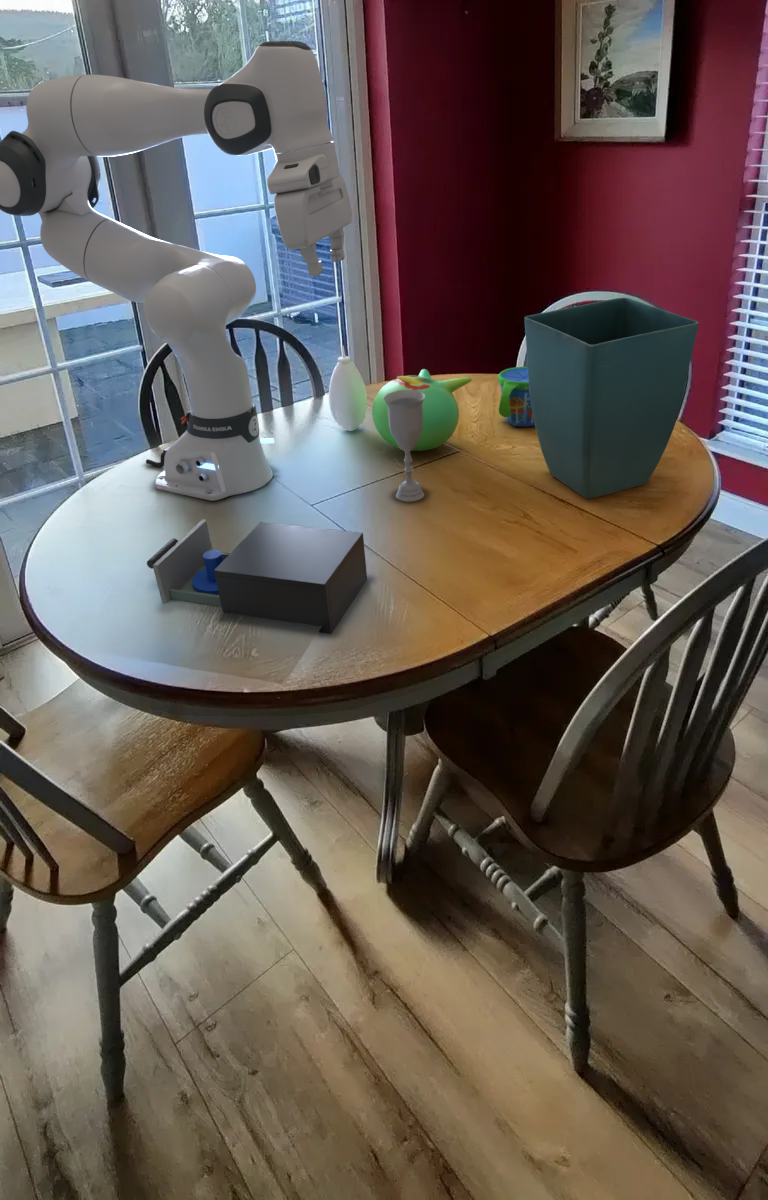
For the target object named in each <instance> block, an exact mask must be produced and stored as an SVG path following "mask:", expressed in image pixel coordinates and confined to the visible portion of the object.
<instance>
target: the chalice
mask: <svg viewBox="0 0 768 1200" xmlns="http://www.w3.org/2000/svg"><path fill="white" fill-rule="evenodd" d="M424 398H425V395H424V394H423V393H422V392H420V391H416V390H400V391H395V392H392V393H390V394H388V395H386V396H385V397H384V400H385V402H386V404H387V405H388V420H389V428H390V431H391V433H392V435H393V438H394V439H395V441H396V443H397V445H398V446H399V449H400V450H401V451H403V452H404V454H405V455H404V459H403V462H404V464H405V468H404V469H403V472H404V473H405V475H406V478H405V479H404V481H402V482H401V483H400V484H399V486H398V488H397V492H396V494H395V497H396V499H397V500H399V501H401V502H415V501H419V500H421V499H422V498H424V497H425V492H424V491H423V489H422V487H421V484H420V483H419V482H418V481H417V480H415V479H413V477H412V475H413V474H412V473H413V472H414V468H413V466H412V462H413V458H412V455H411V450H412V449H414V448H415V446H416V444H417V442H418V439H419V437H420V434H421V430H422V427H423V410H422V402H423V400H424Z"/></svg>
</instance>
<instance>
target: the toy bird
mask: <svg viewBox="0 0 768 1200" xmlns="http://www.w3.org/2000/svg"><path fill="white" fill-rule="evenodd" d="M471 381H472V378H471V377H468V376H463V377H456V378H449V379H443V380H437V379H434V378H432V377H431V373H430V371H429V370H428V369H425V368H422V369H421V370H420V372H419V374H418V375H416V374H409V375H398V376H396V378H395V379H392V380H390V381H389V382H387V383H386V384H385V385H383V386H382V387H381V388H380V389H379V391H378V392H377V394H376V395H375V398H374V400H373V403H372V408H371V416H372V421H373V424H374V427H375V429H376V431H377V433H378V434H379V435H380V436H381V437H382V439H384V440H385V441H386V442H387V443H389V444H390V445H392V446H394V447H397V448H399V446H398V445H397V443H396V441H395V439H394V438H393V435H392V433H391V431H390V428H389V420H388V405H387V404H386V402H385V400H384V397H385V396H386V395H388V394H390V393H392V392H395V391H400V390H416V391H420V392H422V393H423V394H424V395H425V398H424V400H423V402H422V410H423V427H422V430H421V434H420V437H419V439H418V442H417V444H416V446H415V448H414V449H412V450H411V451H413V452H421V451H422V452H425V451H428V450H429V451H430V450H433V449H435V448H437V447H440V446H441V445H443V444H445V443H446V442H447V441H448V440H449V439H450V438H451V437H452V435H453V434H454V433H455V432H456V431H455V430H456V429H457V427H458V424H459V419H460V410H459V405H458V402H457V399H456V397H455V396H454V394H453V393H454V392H456V391H457V390H459V389H460V388H462V387H464V386H466V385H468V384H469V383H471ZM399 449H400V448H399ZM411 451H410V452H411Z"/></svg>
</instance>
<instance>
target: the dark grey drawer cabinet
mask: <svg viewBox="0 0 768 1200" xmlns="http://www.w3.org/2000/svg"><path fill="white" fill-rule="evenodd" d="M364 540H365V539H364V532H360V531H351V530H341V529H332V528H324V527H323V528H321V527H314V526H313V527H312V526H304V525H295V524H294V525H293V524H285V523H273V522H266V521H265V522H264V521H260V522H259V523H258V524H257V525H256V526H255V527H254V528H253V529H252V530H251V531H250V532H249V533H248V534H247V535H246V536H245V538H243V540H241V542H239V544H238V545H237V546H236V547H234V549H233V550H232V551H231V552H229V553H230V554H229V555H228V556H227V557H226V558H225V559H224V561H223V562H222V563H221V564H220V565H219V566H218V567H217V568H216V569H215V570H214V573H215V578H216V583H217V588H218V592H219V597H220V602H221V606H220V608H221V611H222V613H224V614H231V615H239V616H246V617H252V618H259V619H266V620H273V621H278V622H279V621H281V622H287V623H293V624H299V625H300V624H301V625H307V626H313V627H320V629H318V633H322V634H328V635H329V634H330V635H332V633H333V632H334V630H335V629H336V627H337V626H338V625H339V623H340V621H341V620H342V618H343V617H344V615H345V614H346V612H347V611H348V610H349V608H350V606H351V605H352V603H353V602H354V600H355V598H356V597H357V596H358V594H359V592H360V591H361V589H362V588H363V586H364V585H365V583H366V582H367V580H368V572H367V562H366V551H365V541H364Z"/></svg>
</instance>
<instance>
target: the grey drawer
mask: <svg viewBox="0 0 768 1200" xmlns="http://www.w3.org/2000/svg"><path fill="white" fill-rule="evenodd" d="M209 550H213V544H212V540H211V535H210V531H209V526H208V521H207V519H201V520H200V521H199V522H198V523H197V524H196V525H195V526H194V527H192V528H191V529H190V530H189V532H187V533H186V534H185V535H184V536H183V537H182V538H181V539H179V540H178V539H177V538H171V539H170V540H169V541H168V542H167V543H165V544H164V545H163V546H162V547H161V548H160V549H159V550H158V551H157V552H156V553H154V555H152V556H151V557H150V558H149V559H148V560H147V561H146V566H147V568H149V569H151V570H153V572H154V573H153V574H154V577H155V580H156V584H157V587H158V592H159V597H160V599H161V603H162V604H168V603H169V602H170V601H172V600H173V601H177V602H178V601H180V602H186V603H192V604H193V603H194V604H200V605H208V606H214V607H215V606H216V607H221V602H220V597H219V595H214V594H206V593H199V592H196V591H195V590H194V588H193V585H192V579H193V577H194V576H195V574H196V573H198V572H199V571H201V570H203V569H205V563H204V558H203V554H204V553H205V552H207V551H209ZM221 552H222V555H223V560H224V559H225V558H226V557H227V556H228V555H229V554H230V553H231V552H223V551H221Z"/></svg>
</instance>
